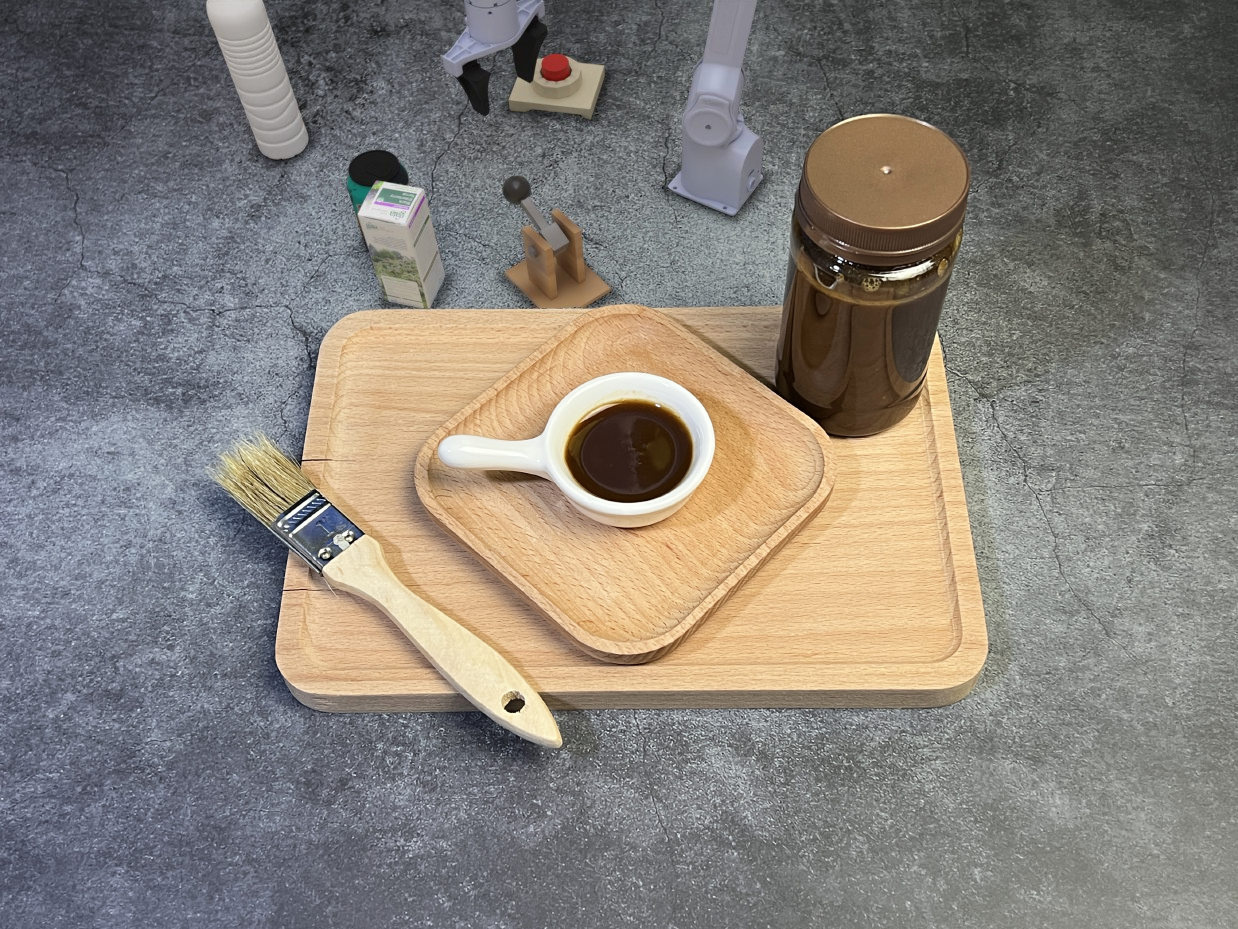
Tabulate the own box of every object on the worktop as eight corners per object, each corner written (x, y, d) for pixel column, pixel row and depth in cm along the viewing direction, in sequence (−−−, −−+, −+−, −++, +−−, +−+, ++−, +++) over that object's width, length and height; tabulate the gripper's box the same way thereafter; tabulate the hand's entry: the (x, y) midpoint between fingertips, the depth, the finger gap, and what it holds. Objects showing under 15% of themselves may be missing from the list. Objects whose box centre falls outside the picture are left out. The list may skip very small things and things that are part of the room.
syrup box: (447, 277, 130) (425, 184, 118) (429, 314, 127) (405, 223, 115) (402, 269, 131) (376, 175, 119) (384, 305, 128) (355, 213, 116)
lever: (495, 191, 124) (498, 178, 121) (518, 178, 125) (522, 165, 122) (545, 263, 123) (551, 251, 120) (568, 249, 124) (574, 238, 121)
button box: (604, 75, 149) (603, 53, 146) (590, 119, 145) (589, 97, 142) (526, 67, 151) (523, 45, 148) (509, 110, 146) (506, 88, 143)
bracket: (505, 278, 130) (495, 220, 122) (559, 246, 132) (553, 188, 124) (556, 328, 125) (549, 272, 117) (611, 294, 128) (608, 237, 120)
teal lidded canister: (389, 214, 136) (368, 137, 126) (435, 234, 134) (417, 158, 124) (354, 251, 133) (329, 175, 123) (400, 272, 131) (379, 196, 121)
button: (572, 66, 146) (571, 55, 144) (566, 83, 144) (565, 72, 142) (546, 63, 146) (544, 52, 145) (539, 80, 144) (538, 69, 143)
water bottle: (296, 164, 141) (233, -13, 120) (250, 156, 143) (180, -21, 122) (324, 120, 146) (268, -58, 125) (279, 112, 147) (216, -65, 126)
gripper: (508, -52, 125) (521, 51, 136) (415, 10, 119) (437, 112, 131) (554, -29, 122) (563, 74, 134) (461, 35, 117) (479, 137, 128)
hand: (503, 94), depth 132 cm, fingers open, 7 cm apart
